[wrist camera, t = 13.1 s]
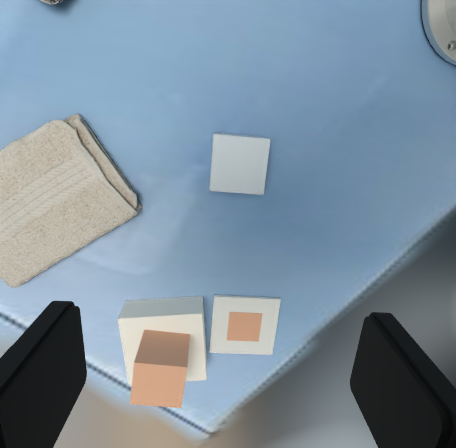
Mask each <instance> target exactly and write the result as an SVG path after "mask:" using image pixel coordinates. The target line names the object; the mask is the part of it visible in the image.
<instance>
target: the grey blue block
mask: <svg viewBox="0 0 456 448" xmlns="http://www.w3.org/2000/svg"><path fill="white" fill-rule="evenodd" d="M269 147H270V139H268V138H265V137H260V136H249V135H238V134H227V133H216V132H213V138H212V152H211V165H210V179H209V190H210V191H219V192H232V193H245V194H259V195H264V187H265V179H266V171H267V163H268V155H269Z"/></svg>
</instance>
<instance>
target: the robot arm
mask: <svg viewBox="0 0 456 448" xmlns="http://www.w3.org/2000/svg"><path fill="white" fill-rule="evenodd" d="M422 20H423V24H424V29H425V33H426V35H427V37H428V39H429V42H430V44H431V45H432V47H433V48H434V49H435V51H436V52H437V53H438V54H439V55H440V56H441V57H442V58H444V59H445V60H446V61H448V62H450V63H452V64H454V65H456V0H422ZM86 376H87V370H86V361H85V352H84V343H83V334H82V325H81V316H80V309H79V307H78V306H75V305H74V303H73V302H72V301H52V302H51V303H50V304H49V305H48V306H47V307H46V309H45V310H44V311H43V312H42V313H41V314H40V315H39V316H38V318H37V319H36V320H35V321H34V322H33V323H32V324H31V325H30V327H29V328H28V329H27V330H26V331H25V332H24V333H23V334H22V336H21V337H20V338H19V339H18V340H17V341H16V342H15V343H14V344H13V345H12V346H11V347H10V348H9V349H8V350H7V351H6V352H5V354H4V355H3V356H2V357H1V358H0V448H53V447H54V444H55V442H56V440H57V438H58V436H59V434H60V432H61V430H62V428H63V426H64V424H65V422H66V420H67V418H68V416H69V414H70V412H71V410H72V408H73V406H74V404H75V402H76V400H77V398H78V396H79V394H80V392H81V390H82V388H83V386H84V384H85V381H86ZM350 387H351V391H352V393H353V395H354V397H355V399H356V401H357V404H358V406H359V408H360V410H361V412H362V414H363V416H364V419H365V421H366V423H367V425H368V427H369V429H370V431H371V433H372V435H373V438H374V440H375V441H376V444H377V446H378V448H456V389H455V387H454V386H453V385H452V384H451V383H450V382H449V380H448V379H447V378H446V377H445V376H444V374H443V373H442V372H441V371H440V370H439V369H438V367H437V366H436V365H435V364H434V363H433V362H432V361H431V359H430V358H429V357H428V356H427V355H426V354H425V353H424V351H423V350H422V349H421V348H420V347H419V345H418V344H417V343H416V342H415V341H414V339H413V338H412V337H411V336H410V335H409V334H408V332H407V331H406V330H405V329H404V328H403V327H402V325H401V324H400V323H399V322H398V321H397V320H396V318H395V317H394V316H393V315H392V314H391V313H377V312H373V313H371V314H370V315H369V317H366V318H365V319H364V323H363V327H362V331H361V335H360V340H359V344H358V348H357V353H356V357H355V361H354V365H353V370H352V374H351V378H350Z"/></svg>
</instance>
